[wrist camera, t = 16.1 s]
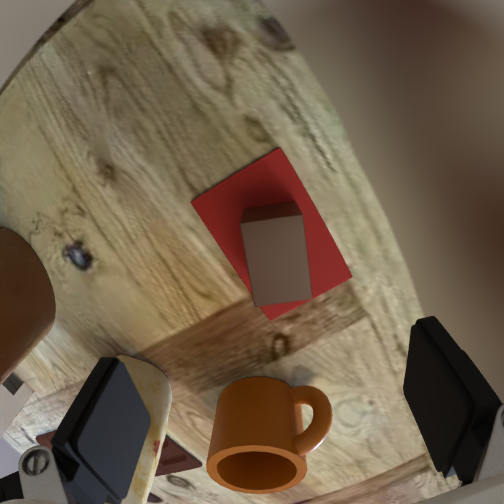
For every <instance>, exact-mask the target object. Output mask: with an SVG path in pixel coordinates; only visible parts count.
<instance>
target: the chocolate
mask: <svg viewBox="0 0 504 504" xmlns="http://www.w3.org/2000/svg"><path fill="white" fill-rule="evenodd" d="M240 230H241V235H242V241H243V246H244V252H245V257H246V262H247V268H248V273H249V279H250V284H251V289H252V295H253V300H254V305H255V307H258V306H266V305H274V304H281V303H288V302H295V301H302V300H309V299H312V289H311V280H310V270H309V261H308V252H307V244H306V235H305V227H304V219H303V214H302V212H301V210H300V208H299V206H298V204H297V202H296V201H292V202H285V203H278V204H272V205H265V206H258V207H252V208H245V209H244V211H243V214H242V217H241V221H240Z"/></svg>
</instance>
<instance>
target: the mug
mask: <svg viewBox="0 0 504 504" xmlns="http://www.w3.org/2000/svg"><path fill="white" fill-rule="evenodd" d="M301 404H307V405H310V406H311V407H312V408H313V419H312V422H311V424H310V425H309V426H308V428H307V429H306V430H305V431H304V429H303V419H302V409H301ZM332 416H333V415H332V407H331V404H330V402H329V400H328V398H327V396H326V395H325V394H324V393H323V392H322V391H321V390H319V389H317V388H315V387H312V386H297V387H294V388H292V387H291V386H289V385H288V384H286V383H285V382H283V381H280V380H276V379H273V378H269V377H250V378H243V379H241V380H238V381H236V382H233V383H231V384H230V385H229V386H228V387H226V388H225V389H224V390H223V391H222V393H221V395H220V397H219V399H218V405H217V410H216V415H215V421H214V426H213V431H212V437H211V442H210V447H209V452H208V458H207V463H206V467H207V473H208V474H209V476H210V477H211V479H213V480H214V481H215V482H217V483H218V484H219V485H221V486H224V487H226V488H228V489H231V490H234V491H238V492H243V493H251V494H266V493H275V492H279V491H283V490H287V489H289V488H291V487H293V486H295V485H297V484H298V483H299V482H300V481H301V480H302V479H304V477H305V475H306V472H307V462H306V454H307V453H309V452H311V451H313V450H314V449H316V448H317V447H318V446H319V445H320V444H321V443H322V442H323V440H324V439H325V437H326V436H327V434H328V432H329V429H330V427H331V423H332Z"/></svg>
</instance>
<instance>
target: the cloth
mask: <svg viewBox="0 0 504 504" xmlns="http://www.w3.org/2000/svg"><path fill="white" fill-rule="evenodd" d="M292 201H296V202H297V204H298V206H299V208H300V210H301V212H302V214H303V219H304V227H305V235H306V244H307V252H308V261H309V270H310V280H311V289H312V299H313V298H315V297H317V296H319V295H321V294H323V293H324V292H326V291H328V290H330V289H332V288H334V287H336V286H337V285H339V284H341V283H343V282H345V281H347V280H348V279H350V278H352V275H351V273H350V271H349V269H348V267H347V265H346V263H345V261H344V259H343V257H342V255H341V253H340V251H339V249H338V247H337V246H336V244H335V242H334V240H333V238H332V236H331V234H330V232H329V231H328V229H327V227H326V225H325V223H324V221H323V220H322V218H321V216H320V214H319V212H318V211H317V209H316V207H315V205H314V203H313V202H312V200H311V198H310V196H309V195H308V193H307V191H306V189H305V188H304V186H303V184H302V182H301V181H300V179H299V177H298V176H297V174H296V172H295V170H294V169H293V167H292V165H291V164H290V162H289V160H288V159H287V157H286V155H285V154H284V152H283V150H282V149H281V147H280V148H278V149H276V150H274V151H273V152H271V153H269V154H268V155H266V156H264V157H262V158H261V159H259V160H257V161H256V162H254V163H252V164H251V165H249V166H247V167H246V168H244V169H242V170H241V171H239V172H237V173H236V174H234V175H232V176H231V177H229V178H228V179H226V180H224V181H223V182H221V183H220V184H218V185H216V186H215V187H213V188H212V189H210V190H208V191H207V192H205V193H204V194H202V195H201V196H199V197H198V198H196V199H194V200H193V201H191V204H192V206H193V207H194V209H195V210H196V212H197V213H198V215H199V216H200V218H201V219H202V221H203V222H204V224H205V225H206V227H207V228H208V230H209V231H210V233H211V234H212V236H213V237H214V239H215V240H216V242H217V243H218V245H219V246H220V248H221V249H222V251H223V252H224V254H225V255H226V257H227V258H228V260H229V261H230V263H231V264H232V266H233V267H234V269H235V270H236V272H237V273H238V275H239V276H240V278H241V279H242V281H243V282H244V284H245V285H246V287H247V288H248V290H249V291H250V293H251V294H252V289H251V284H250V279H249V273H248V268H247V262H246V257H245V252H244V246H243V241H242V235H241V230H240V221H241V217H242V214H243V211H244V209H245V208H252V207H258V206H265V205H272V204H278V203H285V202H292ZM309 300H311V299H309ZM309 300H302V301H295V302H288V303H281V304H274V305H266V306H260V307H261V309H262V310H263V312H264V313H265V315H266V316H267V317H268V319H269V320H272V319H274V318H276V317H278V316H280V315H282V314H284V313H286V312H288V311H290V310H292V309H294V308H296V307H298V306H300V305H302V304H304V303H306V302H307V301H309Z"/></svg>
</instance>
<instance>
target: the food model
mask: <svg viewBox="0 0 504 504" xmlns="http://www.w3.org/2000/svg"><path fill="white" fill-rule="evenodd" d="M115 357H117V358H118V359H119V360H120V361H122V362H124V364H125V366H126V368H127V370H128V372H129V374H130V376H131V378H132V380H133V382H134V384H135V386H136V388H137V390H138V392H139V394H140V396H141V398H142V400H143V402H144V404H145V406H146V408H147V410H148V412H149V413H150V416H151V425H150V428H149V430H148V433H147V436H146V439H145V442H144V445H143V448H142V451H141V454H140V457H139V460H138V463H137V466H136V470H135V473H134V476H133V479H132V482H131V485H130V488H129V491H128V495H127V497H126V498H125V499H122V502H121V504H145V503H146V501H147V498H148V495H149V492H150V489H151V485H152V482H153V479H154V476H155V472H156V469H157V466H158V462H159V458H160V455H161V451H162V447H163V443H164V439H165V435H166V429H167V423H168V415H169V411H170V407H171V400H172V391H171V387H170V382H169V381H168V379H167V378H166V377H165V375H164V374H163V373H162V371H160V370H159V369H157V368H156V367H155V366H153V365H151V364H149V363H146V362H144V361H141V360H138V359H135V358H132V357H129V356H124V355H118V356H115ZM105 504H108V503H106V502H105Z"/></svg>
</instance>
